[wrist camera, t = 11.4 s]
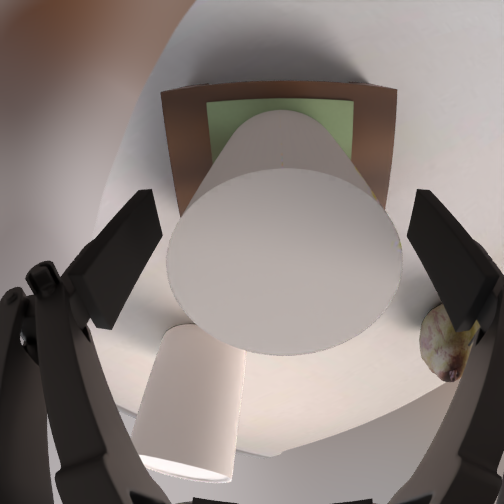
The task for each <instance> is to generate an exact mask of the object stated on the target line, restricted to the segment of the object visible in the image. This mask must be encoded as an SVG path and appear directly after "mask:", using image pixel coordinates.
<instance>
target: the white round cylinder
mask: <svg viewBox="0 0 504 504" xmlns="http://www.w3.org/2000/svg"><path fill="white" fill-rule="evenodd" d="M166 266H167V275H168V280H169V284H170V287H171V290H172V292H173V295H174V297H175V299H176V300H177V302H178V304H179V305H180V307H181V308H182V310H183V311H184V312H185V313H186V315H187V316H188V317H189V318H190V319H191V320H192V321H193V322H194V323H195V324H196V325H197V326H198V327H200V328H201V329H202V330H204V331H205V332H206V333H208V334H209V335H211V336H213V337H214V338H216V339H218V340H220V341H222V342H224V343H226V344H228V345H231V346H233V347H236V348H239V349H242V350H245V351H249V352H254V353H259V354H265V355H276V356H292V355H303V354H309V353H315V352H319V351H323V350H326V349H329V348H332V347H335V346H337V345H340V344H342V343H344V342H346V341H348V340H350V339H352V338H354V337H356V336H357V335H359V334H360V333H362V332H363V331H364V330H366V329H367V328H368V327H370V326H371V325H372V324H373V323H374V322H375V321H376V320H377V319H378V318H379V317H380V316H381V315H382V314H383V312H384V311H385V310H386V309H387V307H388V306H389V304H390V303H391V301H392V299H393V297H394V295H395V293H396V291H397V289H398V286H399V283H400V279H401V274H402V266H403V255H402V247H401V243H400V239H399V236H398V233H397V231H396V229H395V226H394V224H393V223H392V221H391V219H390V218H389V216H388V215H387V213H386V211H385V210H384V208H383V207H382V205H381V204H380V202H379V201H378V199H377V198H376V196H375V195H374V193H373V192H372V190H371V189H370V187H369V186H368V184H367V183H366V181H365V180H364V178H363V177H362V176H361V174H360V173H359V171H358V170H357V169H356V167H355V166H354V164H353V163H352V162H351V160H350V159H349V158H348V156H347V155H346V154H345V152H344V151H343V150H342V148H341V147H340V146H339V145H338V143H337V142H336V141H335V139H334V138H333V137H332V136H331V134H330V133H329V132H328V131H327V130H326V128H325V127H324V126H322V125H321V124H320V123H319V122H318V121H316V120H315V119H313V118H311V117H309V116H307V115H305V114H302V113H299V112H296V111H290V110H273V111H267V112H263V113H260V114H258V115H255V116H254V117H252V118H250V119H248V120H247V121H245V122H244V123H243V124H242V125H241V126H239V128H238V129H237V130H236V131H235V132H234V133H233V135H232V136H231V138H230V139H229V141H228V142H227V144H226V145H225V147H224V148H223V150H222V151H221V153H220V154H219V156H218V158H217V159H216V161H215V162H214V164H213V165H212V167H211V169H210V170H209V172H208V173H207V175H206V177H205V178H204V180H203V181H202V183H201V185H200V186H199V188H198V190H197V191H196V193H195V194H194V196H193V198H192V199H191V201H190V203H189V205H188V206H187V208H186V210H185V211H184V213H183V215H182V216H181V218H180V220H179V222H178V223H177V225H176V227H175V229H174V231H173V233H172V236H171V239H170V242H169V246H168V250H167V260H166Z"/></svg>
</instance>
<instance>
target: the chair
mask: <svg viewBox="0 0 504 504" xmlns="http://www.w3.org/2000/svg"><path fill="white" fill-rule="evenodd" d="M161 100H162V108H163V115H164V123H165V130H166V137H167V143H168V150H169V156H170V162H171V168H172V174H173V180H174V186H175V191H176V197H177V202H178V207H179V213H180V218H181V216H182V215H183V213H184V211H185V210H186V208H187V206H188V205H189V203H190V201H191V199H192V198H193V196H194V194H195V193H196V191H197V190H198V188H199V186H200V185H201V183H202V181H203V180H204V178H205V177H206V175H207V173H208V172H209V170H210V169H211V167H212V165H213V164H214V162H215V161H216V159H217V158H218V156H219V154H220V153H221V151H222V150H223V148H224V147H225V145H226V144H227V142H228V141H229V139H230V138H231V136H232V135H233V133H234V132H235V131H236V130H237V129H238V128H239V126H241V125H242V124H243V123H244V122H245V121H247V120H248V119H250V118H252V117H254V116H255V115H258V114H260V113H263V112H267V111H273V110H290V111H296V112H299V113H302V114H305V115H307V116H309V117H311V118H313V119H315V120H316V121H318V122H319V123H320V124H321V125H322V126H324V127H325V128H326V130H327V131H328V132H329V133H330V134H331V136H332V137H333V138H334V139H335V141H336V142H337V143H338V145H339V146H340V147H341V148H342V150H343V151H344V152H345V154H346V155H347V156H348V158H349V159H350V160H351V162H352V163H353V164H354V166H355V167H356V169H357V170H358V171H359V173H360V174H361V176H362V177H363V178H364V180H365V181H366V183H367V184H368V186H369V187H370V189H371V190H372V192H373V193H374V195H375V196H376V198H377V199H378V201H379V202H380V204H381V205H382V207H383V208H384V210H385V206H386V200H387V193H388V187H389V180H390V172H391V164H392V155H393V146H394V135H395V122H396V106H397V89H393V88H388V87H383V86H379V85H373V84H367V83H358V82H348V83H341V82H325V81H290V80H286V81H250V82H234V83H222V84H212V85H209V83H207V84H199V85H191V86H185V87H180V88H176V89H172V90H167V91H163V92H161Z"/></svg>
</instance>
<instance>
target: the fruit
mask: <svg viewBox="0 0 504 504" xmlns="http://www.w3.org/2000/svg"><path fill="white" fill-rule="evenodd" d="M479 327H480V325H479V323H478V321H477V319H476V321H475V323H474V324H473V326H472V328H471V329H470V330H469V331H462V332H455V330H454V327H453V325H452V323H451V321H450V318H449V316H448V314H447V312H446V310H445V307H444V305H443V304H441V305H439V306H438V307H436V308H434V309H432V310H431V311H430V312H429V313H428V314H427V316H426V317H425V318H424V320H423V322H422V326H421V331H420V338H419V342H420V351H421V356H422V359H423V360H424V361H425V363H426V364H427V365H428V367H429V369H430V370H431V371H432V372H433V373H435V374H436V375H437V376H438V377H439V378H440V379H441V380H442V381H445V382H454V381H456V380H458V379H460V378H461V377H462V374H463V372H464V369H465V366H466V363H467V360H468V357H469V354H470V351H471V348H472V345H473V343H472V344H471V345H470V346H468V344H469V342H470V341H471V339H472V338H473V336H474V335H475V333H476V332H477V330H478V329H479Z"/></svg>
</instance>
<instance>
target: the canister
mask: <svg viewBox="0 0 504 504" xmlns="http://www.w3.org/2000/svg"><path fill="white" fill-rule="evenodd" d="M245 364H246V351H245V350H242V349H239V348H236V347H233V346H231V345H228V344H226V343H224V342H222V341H220V340H218V339H216V338H214V337H213V336H211V335H209V334H208V333H206V332H205V331H204V330H202V329H201V328H200V327H198V326H197V325H196V324H184V325H179V326H175V327H173V328H171V329H169V330H168V331H167V332H166V333H165V334H164V336H163V338H162V341H161V344H160V347H159V350H158V353H157V356H156V358H155V361H154V364H153V367H152V370H151V373H150V376H149V379H148V382H147V386H146V389H145V392H144V395H143V398H142V401H141V404H140V408H139V411H138V414H137V417H136V421H135V424H134V427H133V431H132V434H131V441H132V443H133V445H134V447H135V449H136V451H137V453H138V455H139V457H140V458H141V460H142V462H143V464H144V466H145V468H148V469H150V470H153V471H156V472H159V473H162V474H166V475H169V476H173V477H177V478H181V479H187V480H192V481H199V482H208V483H227V482H230V481H232V474H233V466H234V458H235V449H236V441H237V433H238V424H239V416H240V407H241V399H242V390H243V381H244V373H245Z"/></svg>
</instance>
